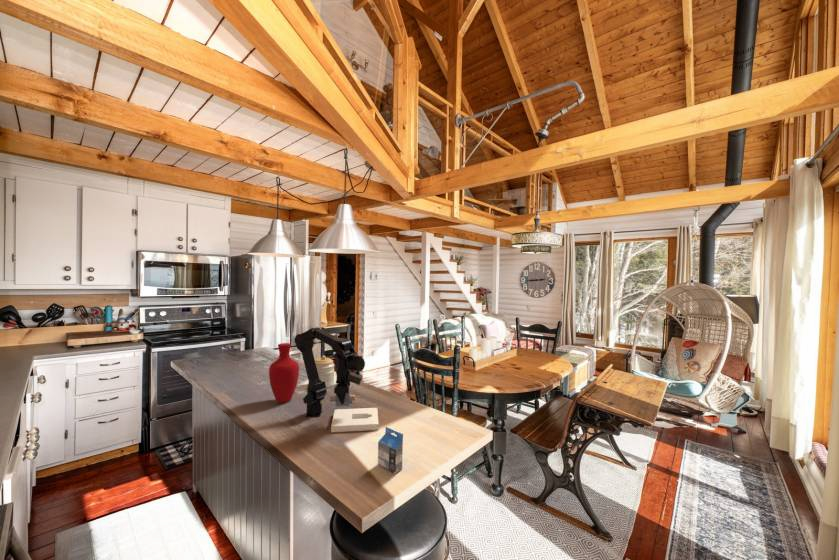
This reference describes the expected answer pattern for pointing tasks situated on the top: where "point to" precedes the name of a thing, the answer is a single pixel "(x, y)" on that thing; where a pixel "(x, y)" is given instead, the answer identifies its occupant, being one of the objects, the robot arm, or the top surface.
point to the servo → (347, 400)
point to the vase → (284, 375)
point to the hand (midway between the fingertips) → (342, 402)
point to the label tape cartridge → (391, 451)
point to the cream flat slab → (355, 420)
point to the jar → (325, 370)
